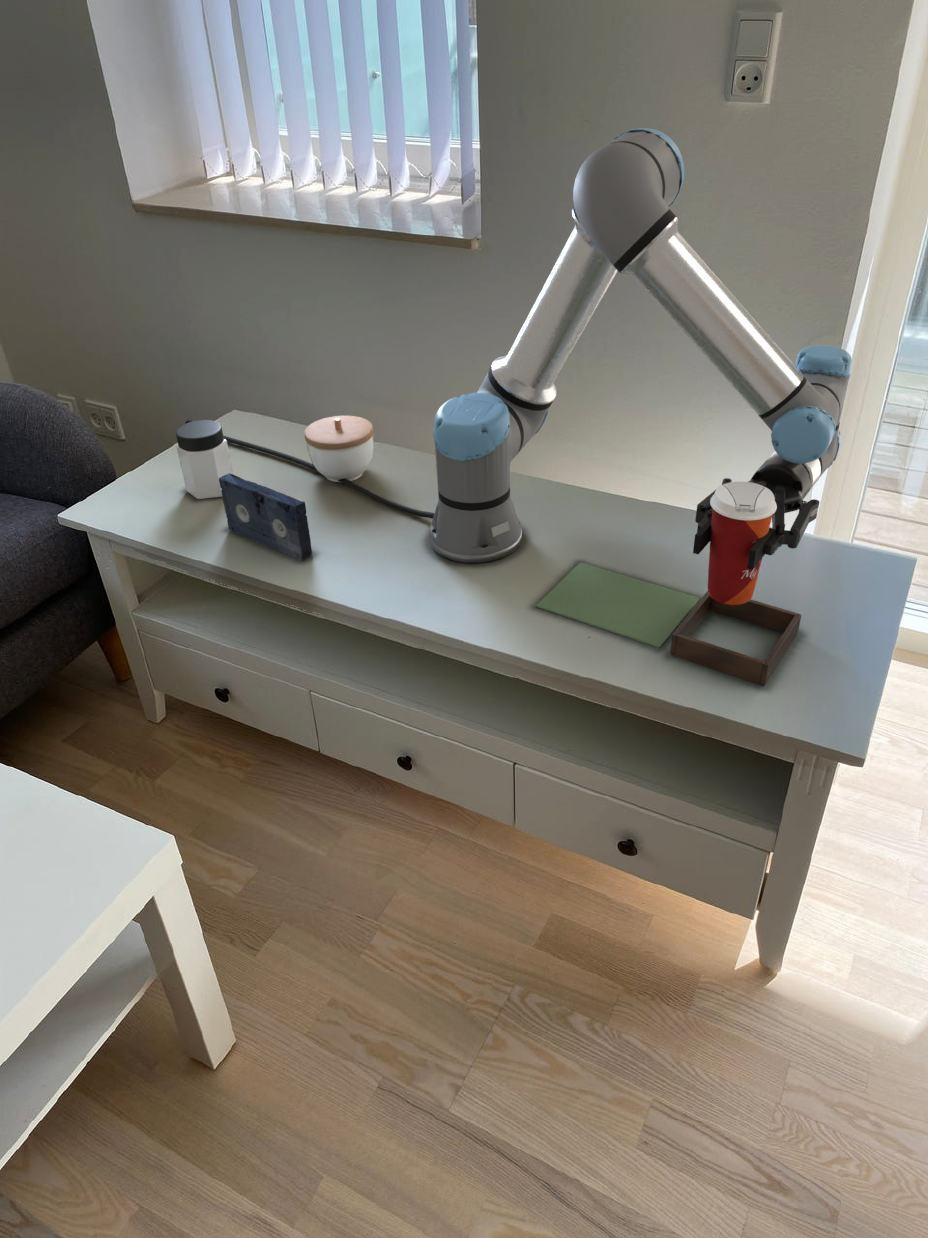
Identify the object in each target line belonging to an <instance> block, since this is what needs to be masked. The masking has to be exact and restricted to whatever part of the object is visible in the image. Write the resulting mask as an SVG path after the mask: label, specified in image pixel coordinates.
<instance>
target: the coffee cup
mask: <svg viewBox="0 0 928 1238" xmlns="http://www.w3.org/2000/svg"><path fill="white" fill-rule="evenodd" d="M715 490H716V491H715ZM715 490H714V491H715V494H714V495H713V496H712V497H711V499H710V505H711V507H712V521H711V537H710V542H709V554H708V555H709V556H708V570H707V571H708V573H707V591H708V593H709V595H710V596H711V597H712V598H713V599H714V600H716V601H718V602H720V603H723V604H729V605H739V604H743V603H746V602H748V601H749V600H750V599H751V600H752V598H753V596H754V592H755V588H756V586H757V581H758V577H759V573H760V570H761V566H762V560H763V558H762V559H761V560H760V561H759V563H758V564H757V565H756V567H755V568H754V569H753V570H751V569H748V568H747V566H748V559H749V553H750V549H751V548H752V547H753V546H754V544H755V543H756V542H757V541H758V539H759V538H762V537H763V536H765V535H766V534H767V533H768V531H769V528H771V527H770V526H771V523H772V515H773V514H774V513H775V511H776V509H777V505H776V502H775V498H774V495H773V493H772V492H771V490H769V489H768V488H766V487H764V486H762V485H759V484H756V483H751V482H748V481H732V482H730V483H726V484H723V485H722V484H721V485H719V486H718V487H717V488H716V489H715Z"/></svg>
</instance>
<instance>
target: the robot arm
mask: <svg viewBox="0 0 928 1238" xmlns="http://www.w3.org/2000/svg"><path fill="white" fill-rule="evenodd" d="M684 163H685V162H684V159H683V156H682V153H681V150H680V149H679V147H678V146H677V144H676V143H675V141H673V139H672V138H671V137H669V136H668V135H667V134H665V133H664V132H662V131H660V130H658V129H655V128H651V127H648V128H647V127H639V128H631V129H629V130H626V131H622V132H621V133H620V134H618V135H616V137H614V139H613V140H612V141H610V142H609V143H607V144H605V145H603V146H601V147H599V148H597V149H596V150H595V151H593V152H591V154H589V156H587V158H586V159H585V160H584V162H582V164H581V166H580V167H579V169H578V172H577V174H576V176H575V179H574V185H573V188H572V189H573V191H572V199H573V207H572V209H571V215H572V218H573V222H574V227H573V229H572V231H571V233H570V235H569V237H568V238H567V241H566V243H565V244H564V245H563V248H562V250H561V252H560V254H559V255H558V258H557V259H556V261H555V264H554V265H553V267H552V270H551V271H550V273H549V275H548V277H547V279H546V280H545V283H544V285H543V287H542V288H541V290H540V292H539V294H538V296H537V297H536V299H535V302H534V303H533V305H532V307H531V309H530V311H529V312H528V315H527V317H526V319H525V321H524V323H523V325H522V326H521V328H520V330H519V332H518V334H517V337H516V338H515V340H514V342H513V343H512V345H511V347H510V349H509V351H508V353H507V354H506V355H502V356H499V357H496V358H495V359H494V360H493V361H492V363H491V364H490V366H489V369H488V371H487V373H486V375H485V377H484V378H483V381H482V383H481V384H480V386H479V388H478V390H477V391H476V392H469V393H463V394H461V395H460V396H459V397H456V396H454V397H452V398H450V399H448V400H447V401H445V402H444V403H443V404H442V405H441V406H439V408H438V409H437V411H436V413H435V416H434V420H433V421H434V424H433V425H434V426H433V432H432V435H433V442H434V443H433V444H434V451H435V452H434V453H435V467H436V481H437V494H438V496H437V497H438V500H437V504H436V507H435V510H434V512H430V511H423V510H418V509H415V508H411V507H408V506H405V505H403V504H399V503H397V502H395V501H391V500H389V499H386V498H385V497H382V496H380V495H379V494H376V493H375V492H372V491H371V490H369V489H367V488H365V487H363V486H361V485H360V484H358V483H355V482H353V481H349V480H347V479H340V480H338V481H339V482H338V483H342V484H343V485H345V486H348V487H350V488H352V489H353V490H356V491H357V492H359V493H362V494H363V495H365V496H367V497H369V498H370V499H372V500H374V501H376V502H377V503H380V504H383V505H385V506H387V507H390V508H392V509H394V510H397V511H400V512H403V513H406V514H409V515H412V516H415V517H416V516H417V517H420V518H426V519H427V518H428V519H432V521H431V524H430V526H429V527H430V528H429V541H430V546H431V548H432V550H433V551H434V552H436V554H438V555H439V556H441V557H443V558H445V559H448V560H450V561H454V562H458V563H459V562H460V563H465V564H467V563H468V564H479V563H488V562H493V561H497V560H500V559H503V558H505V557H507V556H509V555H511V554H512V553H514V552H516V551H517V549H518V548H519V547H520V546H521V544H522V540H523V529H522V523H521V521H520V519H519V517H518V514H517V511H516V508H515V506H514V503H513V500H512V497H511V463H512V462H513V460H514V459H515V458H516V457H517V455H518V454H519V453H520V452H521V451H522V449H523V448H525V446H526V445H527V444H528V442H530V440H531V439H532V438H533V437H534V436H535V435H536V434H538V433H539V431H541V429H542V427H543V426H544V425H545V422H546V420H547V417H548V415H549V414H548V413H549V410H550V408H551V406H552V404H553V403H554V401H555V399H556V397H557V392H558V391H557V386H556V385H555V380H556V378H557V377H558V375H559V374H560V372H561V370H562V368H563V366H564V365H565V363H566V361H567V360H568V358H569V356H570V354H571V353H572V351H573V350H574V347H575V346H576V344H577V342H579V341H578V340H579V339H580V338H581V335H582V333H583V331H584V330H585V328H587V327H586V326H587V325H588V323H589V322H590V320H591V318H592V316H593V315H594V313H595V312H596V309H597V308H598V306H599V304H600V303H601V301H602V299H603V297H604V295H605V294H606V293H607V290H608V288H609V287H610V285H611V283H612V282H613V280H614V278H615V276H616V274H617V273H619V274H620V275H621V276H633V278H635V280H636V281H637V282H638V283H639V284H640V285H641V287H643V289H644V290H645V291H646V292H647V293H648V295H650V296H651V297H652V299H653V300H654V301H655V302H656V303H657V304H658V305H659V307H661V309H662V310H663V311H664V312H665V313H666V315H668V316H669V317H670V319H671V320H672V321H673V322H674V323H675V324H676V325H677V326H678V327H679V329H680V330H681V331H682V332H683V333H684V334H685V336H687V338H689V340H690V341H691V342H692V343H693V344H694V346H695V347H696V348H697V349H698V350H699V351H700V352H701V353H702V355H704V357H705V358H706V359H707V360H708V361H709V362H710V363H711V364H712V365H713V366H714V368H715V369H716V370H717V371H718V372H719V374H721V375H722V377H723V378H724V379H725V381H727V382H728V384H729V385H730V386H731V387H732V388H733V389H734V390H735V391H736V393H737V394H739V396H740V397H741V398H742V400H744V401H745V402H746V404H747V405H748V406H749V407H750V408H751V409H752V410H753V411H754V413H755V414H757V416H758V417H759V418H760V419H761V420H762V421H763V423H764V424H765V425H766V426H767V427H768V428H769V430H770V431H771V433H770V437H771V444H772V447H773V450H774V451H773V452H772V453H771V454H770V455H769V457H768V458H767V459H766V460H765V461H764V462H763V463H762V464H761V466H760V467H759V468H758V469H757V470H756V471H755V472H754V474H753V475H752V477H751V478H750V480H748V481H747V482H751V483H756V484H759V485H762V486H764V487H766V488H768V489H769V490H771V492H772V493H773V495H774V498H775V502H776V505H777V509H776V511H775V513H774V514H773V515H772V519H771V523H772V524H771V527H769V531H768V533H767V534H766V535H765V536H763V537H762V538H759V539H758V541H757V542H756V543H755V544H754V546H753V547H752V548H751V549H750V553H749V559H748V566H747V568H748V569H751V570H753V569H754V568H755V567H756V565H757V564H758V563H759V561H760V560H761V559H762V560H763V558H764V556H765V555H767V556H770V557H771V556H772V555H774V554H775V553H776V551H777V550H778V549H779V548H780V547H782V546H783V545H786V546H787V548H789V549H796V548H798V546H799V544H800V542H801V540H802V538H803V535H804V534H805V531H806V530H807V528H808V526H809V524H810V523H811V522H813V521H815V520H817V517H818V511H819V506H820V500H818V499H815V498H814V499H810V500H809V501H807V500H804V499H805V498H806V497H807V495H808V494H809V493H810V491H812V489H813V487H814V486H815V485H816V483H817V482H818V481H819V479H820V478H821V477H822V475H823V474H824V473H825V472H826V471H827V470H828V469H829V468H830V467H831V466H832V465H833V463H834V462H835V461H836V460H837V457H838V454H839V452H840V451H841V448H842V444H843V443H842V441H843V440H842V434H841V432H840V424H841V417H842V413H843V409H844V404H845V400H846V395H847V390H848V387H849V380H850V378H851V375H852V374H851V369H852V361H853V359H852V356H851V354H850V353H849V352H848V351H847V350H845V349H843V348H840V347H838V346H834V345H826V344H825V345H824V344H817V345H809V346H806V347H804V348H802V349H800V350H799V351H798V353H797V355H796V358H795V363H793V361H792V360H791V359H790V358H789V356H787V355H786V353H785V352H784V351H783V350H782V349H781V347H780V346H779V345H778V344H777V343H776V341H774V340H773V338H772V337H771V336H770V335H769V334H768V333H767V332H766V330H764V328H763V327H762V326H761V325H760V323H758V321H757V319H755V318H754V317H753V315H751V313H750V312H749V311H748V310H747V309H746V308H745V307H744V306H743V304H742V303H741V302H740V300H738V299H737V297H736V296H735V295H734V293H732V291H731V290H730V289H729V288H728V286H726V285H725V284H724V282H723V281H722V280H721V279H720V278H719V277H718V276H717V275H716V273H715V272H714V271H713V270H712V269H711V268H710V266H709V265H708V264H707V262H705V260H704V259H703V258H702V257H701V256H700V255H699V254H698V253H697V252H696V250H695V249H694V248H693V247H692V246H691V245H690V243H688V242H687V240H686V239H685V238H684V236H682V234H681V233H680V232H679V218H678V217H677V216H676V214H675V213H674V211H672V210H671V209H670V207H671V206H672V205H673V204H674V203H675V202H676V201H677V199H678V197H679V195H680V194H681V190H682V187H683V184H684V179H685V164H684ZM193 421H194V420H192V419H187V420H186V421H185V423H184V424H186V423H189V422H193ZM223 437H224V439H226V440H227V443H229V444H230V443H231V444H233V445H237V446H241V447H244V448H248V449H251V450H254V451H258V452H261V453H265V454H267V455H271V456H273V457H277V458H279V459H283V460H286V461H289V462H292V463H294V464H297V465H300V466H302V467H305V468H308V469H310V470H313V471H314V472H317V473H320V472H319V471H318V470H317V469H316V468H315V467H314V465H313V464H312V462H309V461H307V460H303V459H302V458H301V459H300V458H298V457H295V456H292V455H290V454H287V453H284V452H281V451H277V450H274V449H271V448H268V447H264V446H261V445H258V444H254V443H252V442H251V443H250V442H248V441H244V440H241V439H236V438H233V437H229V436H227V435H223ZM730 482H733V480H732V479H731V478H728V477H725V478H723V479H722V482H721V485H723V484H726V483H730ZM715 491H716V489H715V490H713V491H712V492H711V493H710V494H708V495H707V496H706V497H705V498H704V499H702V500H701V501H700V502H699V503H697V505H696V511H695V519H694V522H695V523H696V524H697V529H696V533H695V534H694V539H693V541H694V542H693V548H692V549H693V550H692V554H695V555H700V554H701V552H703V550H704V549H705V548H706V547H707V545H708V544H710V537H711V521H712V507H711V505H710V499H711V497H712V496H713V495H714V494H715ZM797 511H798V513H797V516H796V517H795V520H794V521H793V522H792V524H791V527H790V529H789V530H786V523H785V514H788V513H793V512H797Z"/></svg>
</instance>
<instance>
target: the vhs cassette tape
mask: <svg viewBox="0 0 928 1238" xmlns="http://www.w3.org/2000/svg"><path fill="white" fill-rule="evenodd" d="M219 483H220V488H222V490H221V492H222V501H223V502H222V503H223V506H224V513H225V516H226V523H227V526H228V527H227V528H228V530H229V531H230V532H233V533H235V534H237V535H240V536H242V537H245V538H247V539H249V540H251V541H254V542H257V543H258V544H261V545H264V546H266V547H268V548H270V549H273V550H275V551H277V552H280V553H282V554H285V555H288V557H289V556H290V557H292V558H294V559H296V560H299V561H304V560H306V559H307V558H309V557H310V556H312V555H313V550H312V542H311V535H310V534H311V533H310V527H309V520H308V515H307V507H306V502H305V501H304V500H303V501H302V500H299V499H298V498H295V497H292V496H289V495H288V494H287V495H286V494H285V493H282V492H279V491H276V490H274V489H273V488H269V487H267V486H265V485H261V484H258V483H256V482H254V481H251V480H247V479H246V480H245V479H244V478H242V477H240V476H238V475H235V474H234V473H233V474H230V473H228V474H226V475H224V476H222V477H220V478H219Z"/></svg>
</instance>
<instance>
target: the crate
mask: <svg viewBox="0 0 928 1238" xmlns="http://www.w3.org/2000/svg"><path fill="white" fill-rule="evenodd" d="M710 612H713V613H716V614H720V615H723V616H726V617H730V618H733V619H736V620H738V621H739V620H740V621H743V622H746V623H749V624H752V625H756V626H759V627H762V628H764V629H765V628H766V629H769V630H772V631H776V632H779V633H782V634H781V636H780V637H779V638H778V641H777V642H776V643H775V645H774V646H773V648H772V650H771V651H770V653H769V655H768V656H767V657H766V659H765V660H763V659H760V658H757V657H753V656H750V655H747V654H744V653H741V652H737V651H734V650H732V649H728V648H725V647H722V646H719V645H716V644H713V643H709V642H707V641H703V640H701V639H697V638H694V637H692V634H693V633H694V632H695V630H697V628H698V627H699V626H700V624H701V623H702V622H703V620H704V619H705V618H706V617H707V616H708V614H709V613H710ZM801 620H802V613H798V612H795V611H791V610H788V609H785V608H781V607H778V606H776V605H775V606H774V605H772V604H768V603H764V602H761V601H758V600H754V599H752V598H751V599H750V600H749V601H748V602H746V603H743V604H739V605H729V604H723V603H720V602H718V601H716V600H714V599H713V598H712V597H711V596H710V595H709V593H708V590H707V591H706V592H705V593H704V594H703V596H702V597H701V598H700V599H699V600H698V602H697V603H696V604H695V605H694V607H693V608H692V609H691V610H690V612H689V613H688V614H687V615H686V617H685V618H684V619H683V620H682V621H681V623H680V624H679V625H678V626H677V628H676V629H675V630H674V631H673V633H672V634H671V641H670V642H671V643H670V651H669V655H670V656H673V657H675V658H679V659H682V660H685V661H687V662H691V663H693V664H696V665H700V666H703V667H706V668H709V669H712V670H715V671H718V672H720V673H724V674H727V675H730V676H733V677H737V678H739V679H742V680H745V681H749V682H750V683H754V684H757V685H760V686H763V687H765V686H766V685H767V683H768V681H769V680H770V679H771V678H772V676H773V674H774V672H775V670H777V667H778V666H779V664H780V663H781V661H782V660H783V658H784V657H785V655H786V654H787V652H788V651H789V649H790V647H791V646H792V644H793V643H794V642H795V639H796V638H797V637H798V635H799V630H800V625H801Z"/></svg>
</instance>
